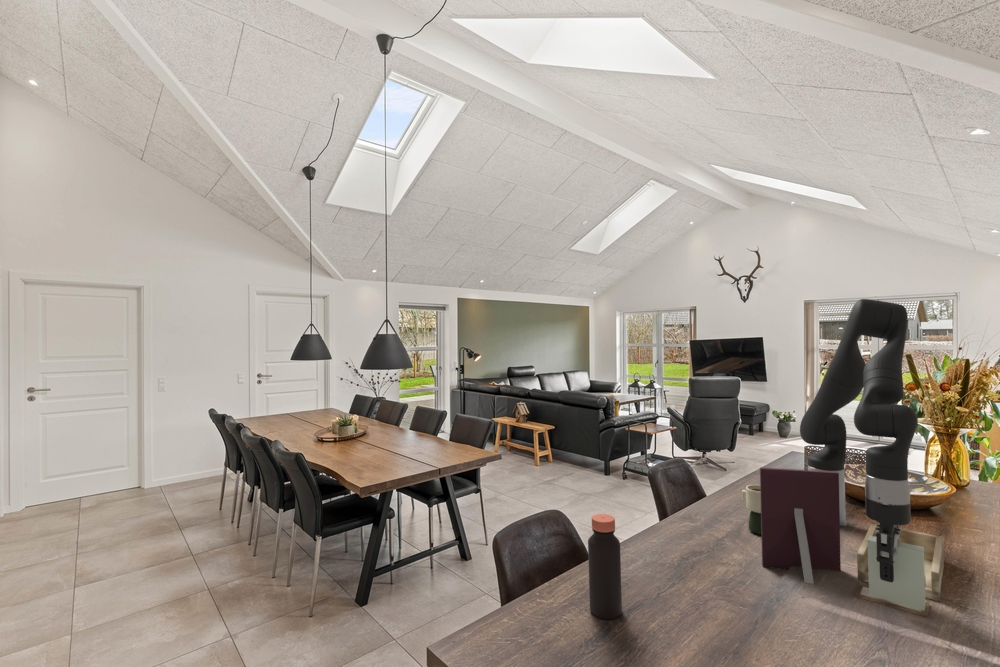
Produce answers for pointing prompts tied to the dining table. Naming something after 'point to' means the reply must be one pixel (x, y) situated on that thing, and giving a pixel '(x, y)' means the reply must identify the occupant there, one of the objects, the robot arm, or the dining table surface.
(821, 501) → the picture frame
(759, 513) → the character mug
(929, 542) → the tray
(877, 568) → the pale green slanted prism
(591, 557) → the bottle
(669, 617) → the dining table surface
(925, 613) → the board
